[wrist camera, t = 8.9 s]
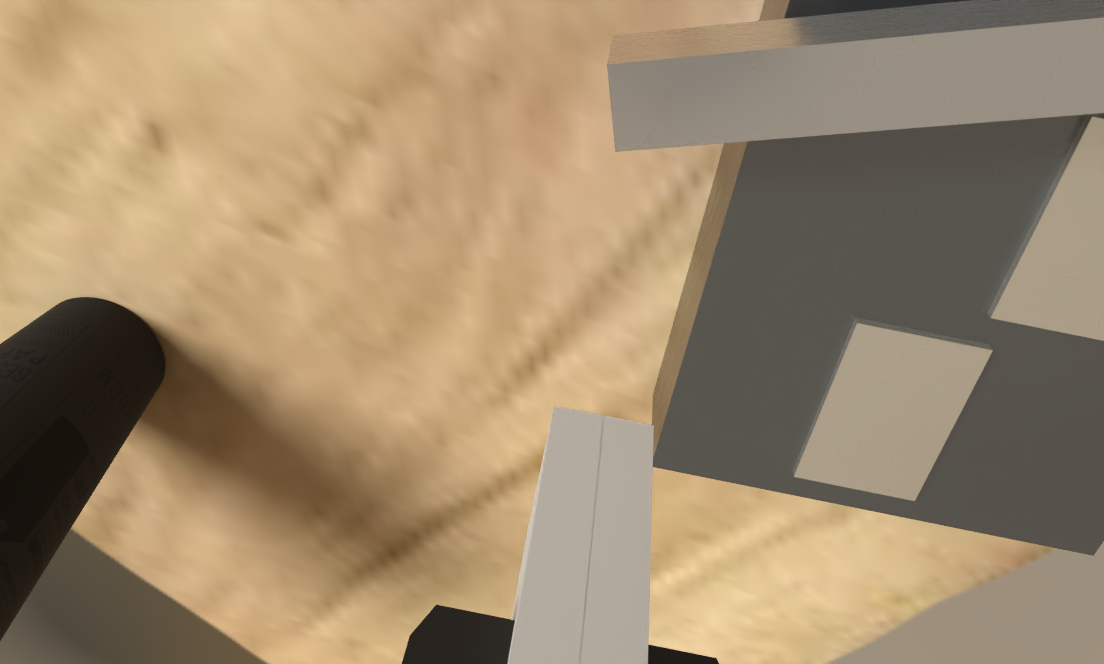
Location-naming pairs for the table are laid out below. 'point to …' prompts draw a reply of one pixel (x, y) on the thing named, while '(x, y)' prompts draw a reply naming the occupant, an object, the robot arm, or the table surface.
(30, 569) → the drinking cup
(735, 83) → the cable arm
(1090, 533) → the grey flat block
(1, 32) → the table surface
